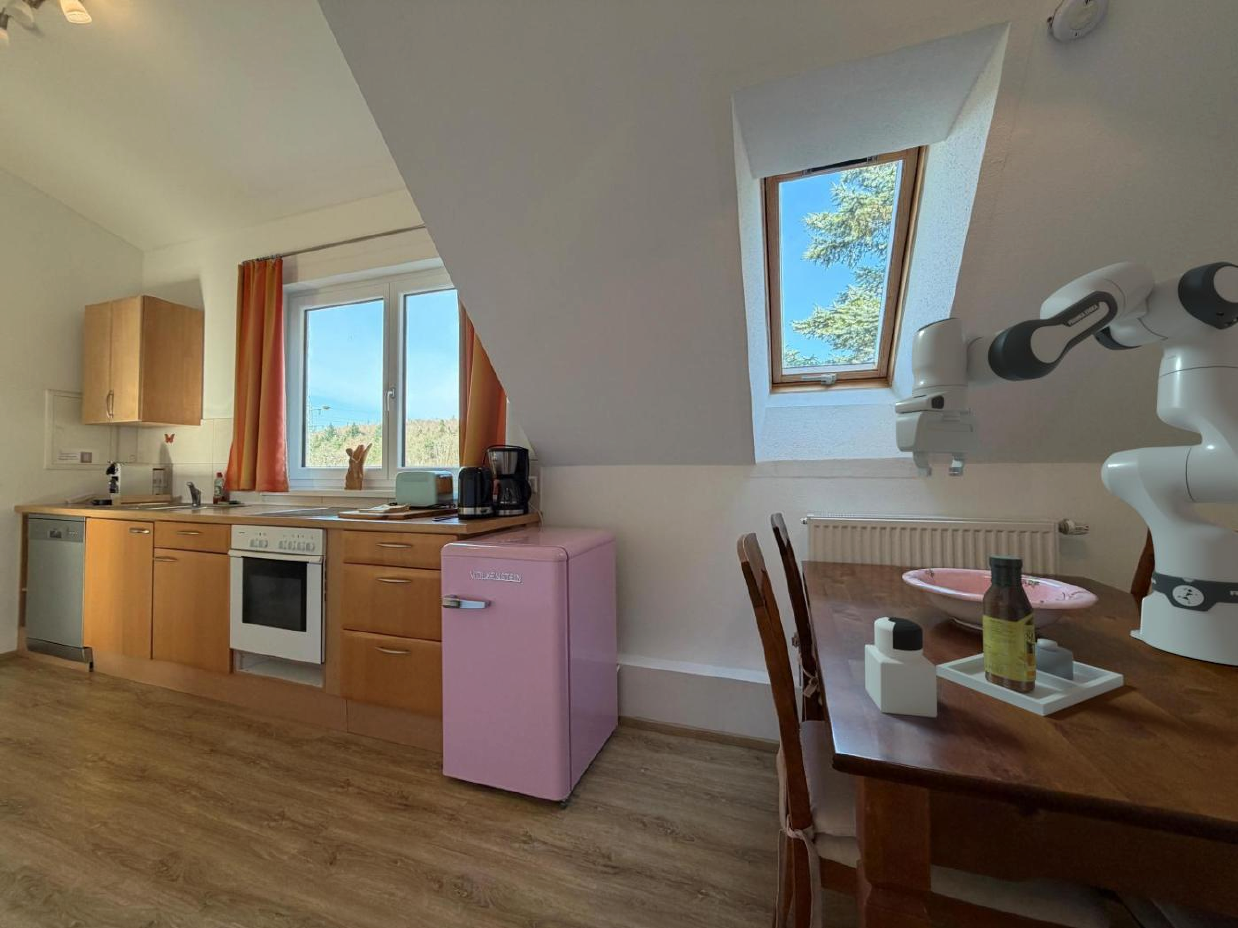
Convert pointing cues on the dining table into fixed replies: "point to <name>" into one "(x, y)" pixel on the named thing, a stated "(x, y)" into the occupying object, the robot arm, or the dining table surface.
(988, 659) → the sauce bottle
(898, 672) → the medicine bottle
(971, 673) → the white rectangular tray
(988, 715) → the dining table surface
